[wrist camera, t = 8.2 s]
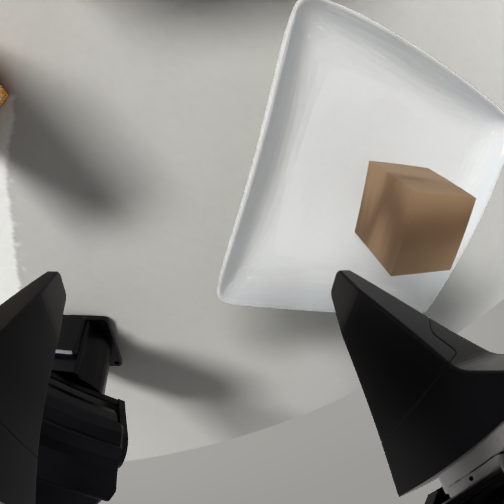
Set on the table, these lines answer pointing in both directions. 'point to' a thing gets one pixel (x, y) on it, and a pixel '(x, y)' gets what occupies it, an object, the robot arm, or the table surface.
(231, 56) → the table surface
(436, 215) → the walnut cube
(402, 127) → the salad plate
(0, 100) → the supplement box
